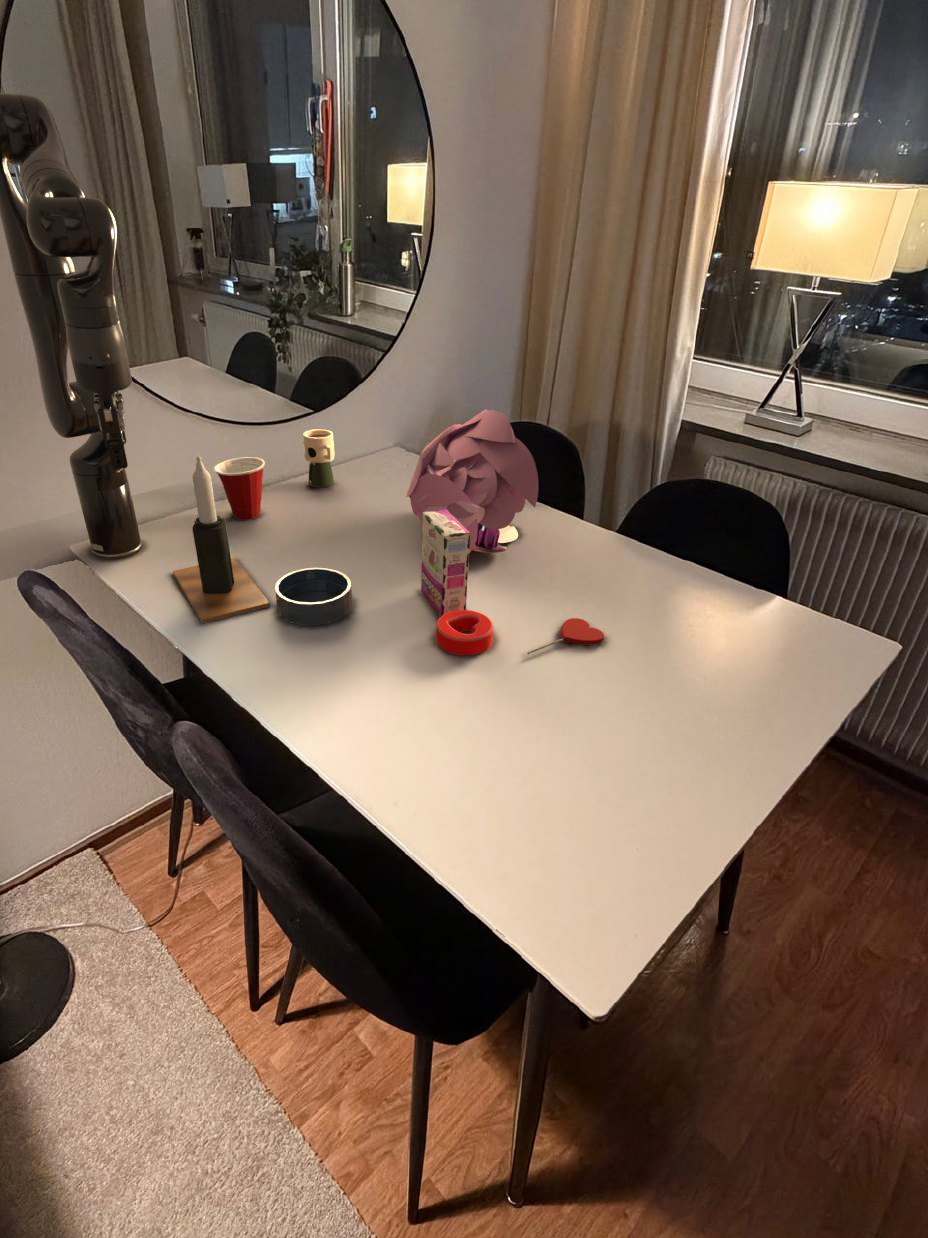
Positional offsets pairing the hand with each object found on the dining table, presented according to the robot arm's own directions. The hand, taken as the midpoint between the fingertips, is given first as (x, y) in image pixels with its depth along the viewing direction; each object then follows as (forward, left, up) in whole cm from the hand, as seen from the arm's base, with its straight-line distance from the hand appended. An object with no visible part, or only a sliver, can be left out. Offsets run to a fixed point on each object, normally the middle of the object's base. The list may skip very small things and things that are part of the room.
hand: (119, 455), depth 117 cm
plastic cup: (-30, +27, -28) cm, 49 cm away
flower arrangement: (+2, +67, -28) cm, 72 cm away
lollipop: (+46, +57, -28) cm, 78 cm away
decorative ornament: (+37, +43, -28) cm, 63 cm away
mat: (+1, +12, -28) cm, 30 cm away
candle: (+1, +12, -27) cm, 29 cm away
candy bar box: (+25, +46, -28) cm, 59 cm away
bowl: (+15, +25, -28) cm, 40 cm away
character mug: (-39, +49, -28) cm, 69 cm away
